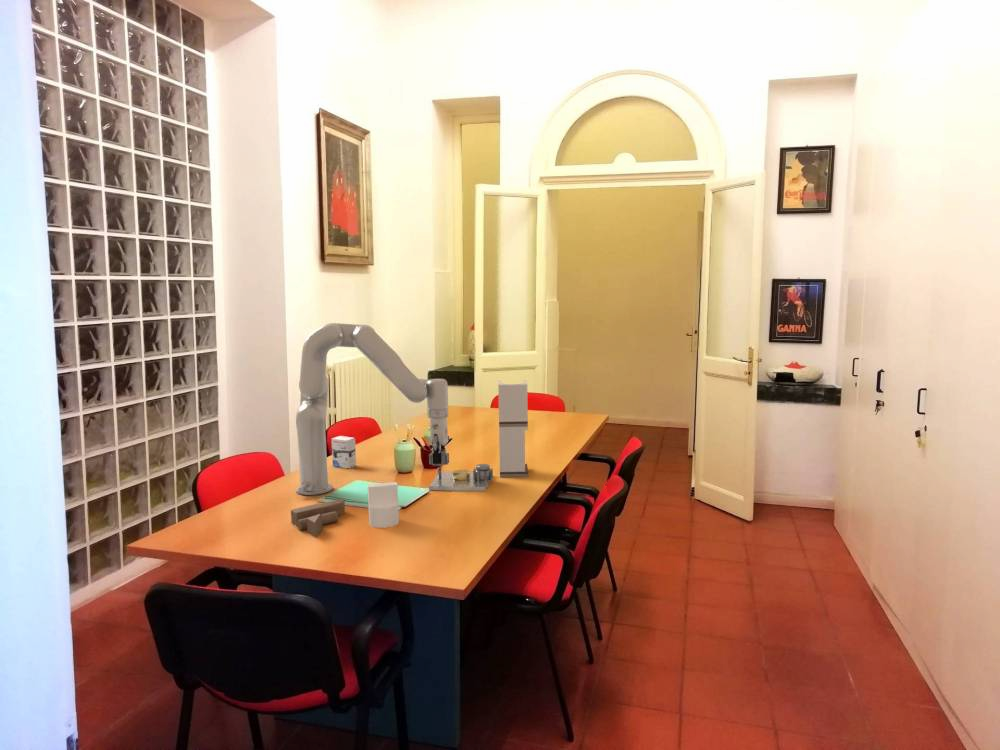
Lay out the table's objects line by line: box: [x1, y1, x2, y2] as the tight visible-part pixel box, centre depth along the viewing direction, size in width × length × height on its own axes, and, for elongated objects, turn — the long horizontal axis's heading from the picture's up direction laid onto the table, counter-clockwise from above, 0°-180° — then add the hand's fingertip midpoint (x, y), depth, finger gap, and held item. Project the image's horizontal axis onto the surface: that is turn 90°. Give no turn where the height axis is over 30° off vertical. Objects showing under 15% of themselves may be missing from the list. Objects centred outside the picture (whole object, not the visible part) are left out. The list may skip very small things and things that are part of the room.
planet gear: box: [428, 448, 450, 467], centre depth 254 cm, size 7×7×5 cm
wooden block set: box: [290, 498, 346, 538], centre depth 212 cm, size 17×6×18 cm
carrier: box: [428, 463, 494, 492], centre depth 254 cm, size 20×22×6 cm
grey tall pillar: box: [497, 379, 529, 478], centre depth 264 cm, size 11×11×35 cm
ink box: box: [331, 435, 357, 469], centre depth 279 cm, size 8×5×12 cm, turn 62°
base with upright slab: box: [367, 481, 400, 529], centre depth 212 cm, size 9×9×12 cm
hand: (439, 460), depth 254 cm, fingers closed on planet gear, 7 cm apart
